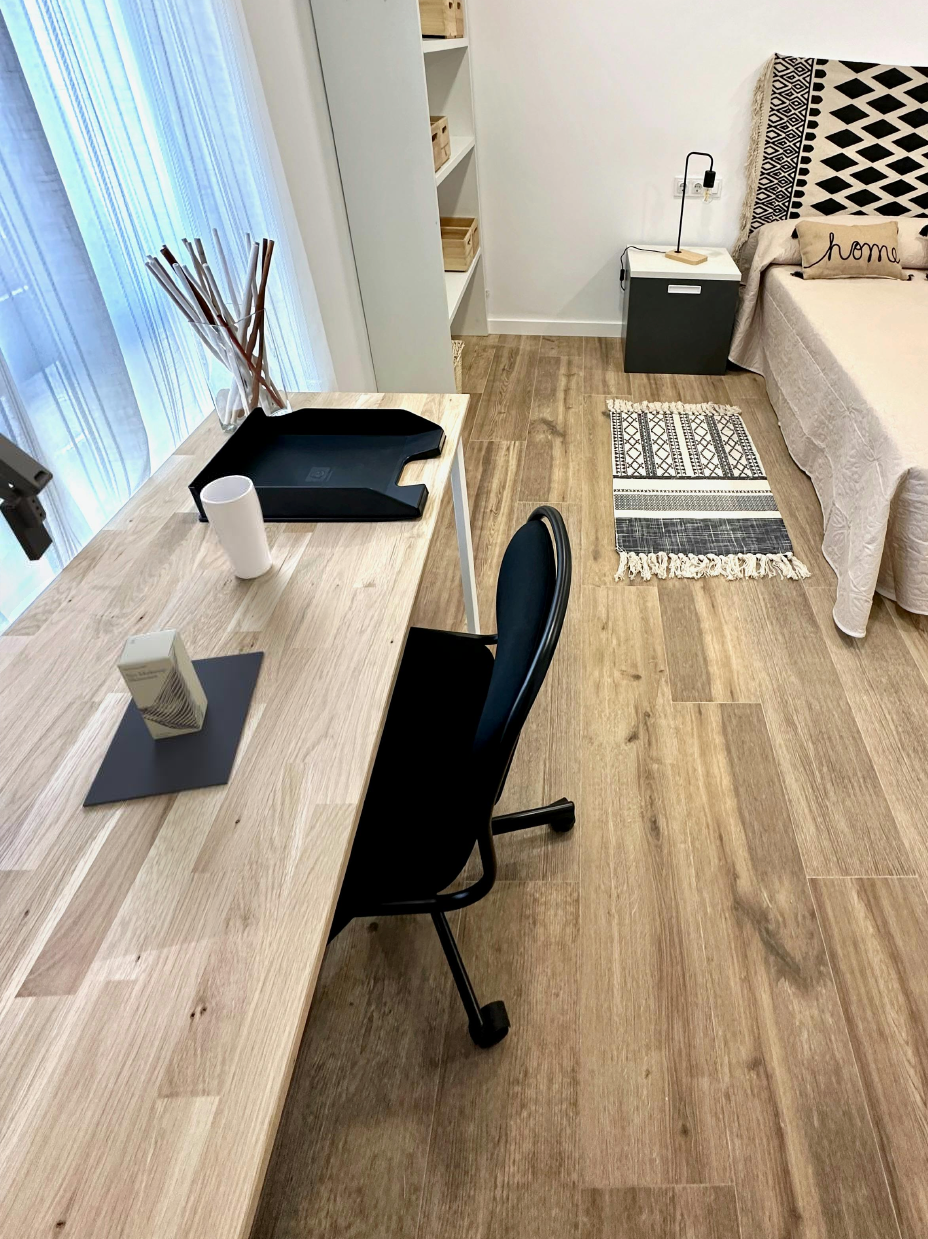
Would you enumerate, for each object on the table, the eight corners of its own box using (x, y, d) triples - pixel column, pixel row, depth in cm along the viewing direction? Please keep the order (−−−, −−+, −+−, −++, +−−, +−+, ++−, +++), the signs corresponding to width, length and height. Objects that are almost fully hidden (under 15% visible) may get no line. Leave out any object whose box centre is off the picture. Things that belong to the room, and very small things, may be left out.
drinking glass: (255, 589, 96) (227, 508, 88) (218, 577, 98) (187, 497, 89) (288, 559, 101) (264, 480, 93) (252, 548, 103) (226, 470, 95)
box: (153, 741, 75) (111, 667, 68) (163, 709, 79) (124, 635, 72) (204, 731, 76) (168, 657, 69) (211, 699, 80) (178, 626, 73)
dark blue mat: (83, 807, 69) (82, 805, 69) (147, 668, 84) (145, 666, 84) (227, 784, 72) (226, 782, 71) (264, 652, 86) (263, 651, 86)
